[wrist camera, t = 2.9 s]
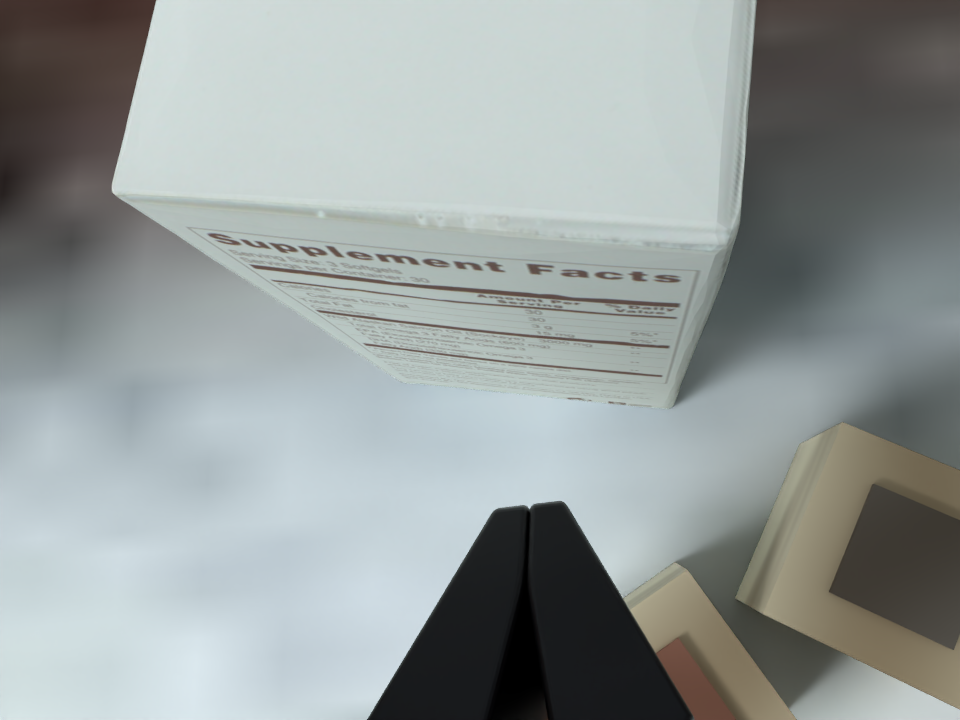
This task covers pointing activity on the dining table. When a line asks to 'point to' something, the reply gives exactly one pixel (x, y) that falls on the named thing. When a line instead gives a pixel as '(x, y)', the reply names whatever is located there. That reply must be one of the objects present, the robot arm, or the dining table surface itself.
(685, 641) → the marked block
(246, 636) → the dining table surface
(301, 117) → the supplement box
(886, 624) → the marked block
